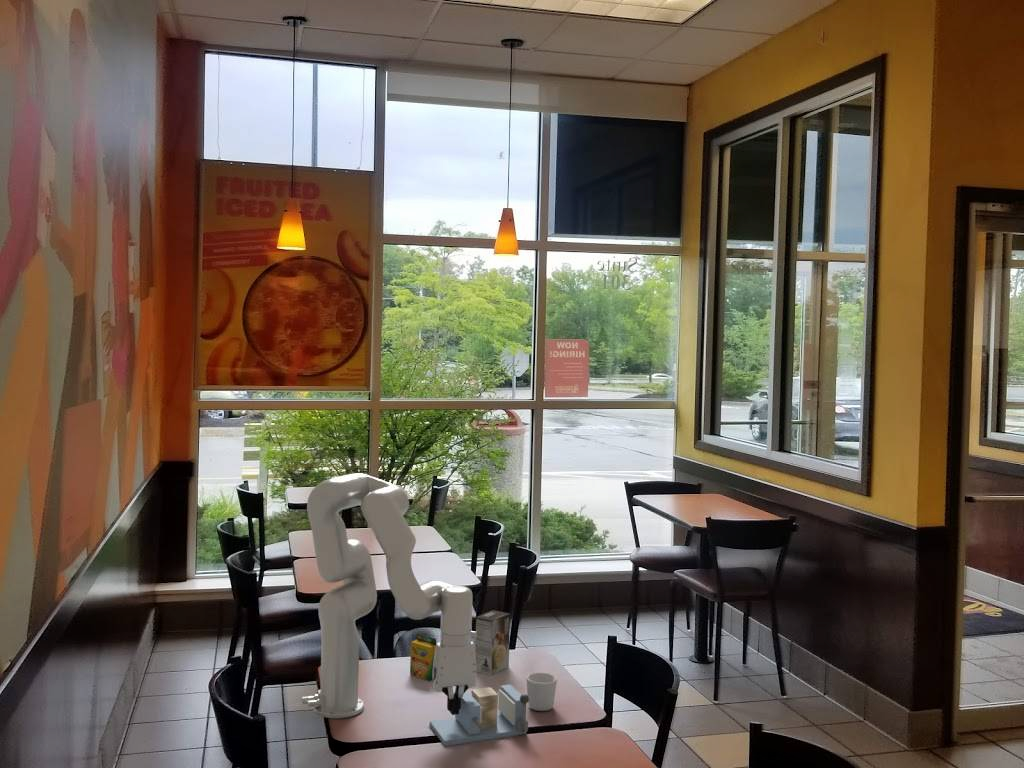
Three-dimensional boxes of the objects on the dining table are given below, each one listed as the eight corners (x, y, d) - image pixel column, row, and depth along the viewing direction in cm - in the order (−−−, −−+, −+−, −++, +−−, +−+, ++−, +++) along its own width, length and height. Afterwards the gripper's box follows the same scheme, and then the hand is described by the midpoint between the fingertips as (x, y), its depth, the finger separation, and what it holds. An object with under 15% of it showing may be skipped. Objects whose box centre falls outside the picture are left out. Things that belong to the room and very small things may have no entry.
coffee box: (491, 662, 270) (493, 609, 269) (509, 667, 266) (510, 613, 266) (473, 671, 262) (475, 616, 262) (491, 676, 259) (493, 620, 258)
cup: (516, 700, 242) (517, 670, 241) (543, 696, 245) (544, 667, 245) (533, 715, 232) (534, 684, 231) (561, 711, 235) (562, 681, 235)
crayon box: (409, 675, 257) (410, 635, 257) (416, 672, 260) (417, 632, 259) (429, 681, 253) (430, 640, 252) (436, 678, 255) (437, 638, 255)
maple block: (477, 729, 219) (478, 697, 219) (470, 721, 224) (471, 689, 224) (497, 726, 221) (498, 694, 221) (489, 718, 226) (490, 687, 226)
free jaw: (475, 741, 212) (476, 713, 212) (455, 717, 225) (455, 690, 225) (487, 739, 213) (488, 711, 213) (467, 716, 226) (468, 689, 226)
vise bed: (447, 749, 211) (448, 706, 210) (429, 725, 224) (430, 684, 223) (529, 737, 219) (531, 695, 218) (507, 714, 232) (509, 675, 231)
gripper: (479, 630, 225) (477, 703, 226) (421, 636, 219) (419, 710, 220) (490, 640, 218) (488, 714, 219) (430, 646, 212) (428, 722, 213)
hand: (453, 712), depth 219 cm, fingers closed
